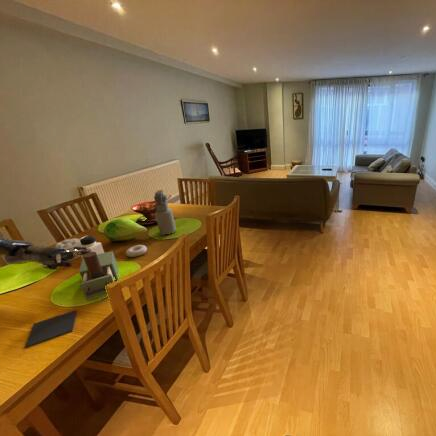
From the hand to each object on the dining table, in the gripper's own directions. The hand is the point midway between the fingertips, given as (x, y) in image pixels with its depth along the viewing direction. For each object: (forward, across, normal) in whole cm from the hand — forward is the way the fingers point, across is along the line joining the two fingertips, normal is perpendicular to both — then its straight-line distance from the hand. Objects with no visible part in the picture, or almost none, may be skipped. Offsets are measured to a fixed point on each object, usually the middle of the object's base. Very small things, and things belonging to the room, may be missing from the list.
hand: (80, 258), depth 100 cm
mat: (+6, -21, +16) cm, 27 cm away
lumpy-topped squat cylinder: (-37, +22, +15) cm, 46 cm away
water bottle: (-4, +58, +15) cm, 60 cm away
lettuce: (-22, +45, +15) cm, 53 cm away
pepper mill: (+5, 0, +13) cm, 14 cm away
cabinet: (-2, +8, +15) cm, 17 cm away
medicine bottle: (-25, +23, +16) cm, 37 cm away
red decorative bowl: (-27, +75, +15) cm, 82 cm away
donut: (-4, +30, +16) cm, 34 cm away
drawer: (+6, -1, +15) cm, 16 cm away
